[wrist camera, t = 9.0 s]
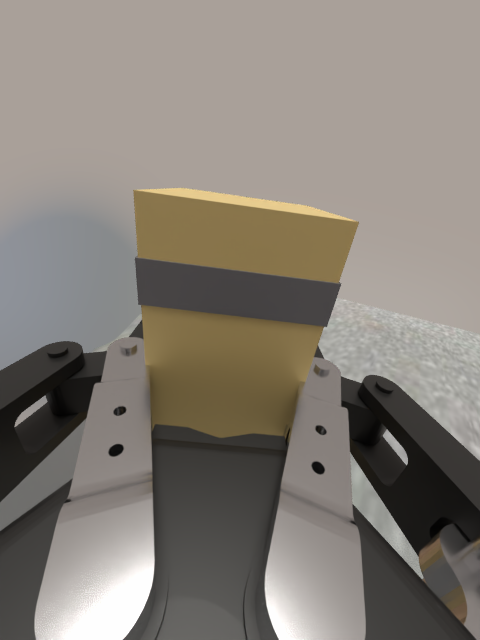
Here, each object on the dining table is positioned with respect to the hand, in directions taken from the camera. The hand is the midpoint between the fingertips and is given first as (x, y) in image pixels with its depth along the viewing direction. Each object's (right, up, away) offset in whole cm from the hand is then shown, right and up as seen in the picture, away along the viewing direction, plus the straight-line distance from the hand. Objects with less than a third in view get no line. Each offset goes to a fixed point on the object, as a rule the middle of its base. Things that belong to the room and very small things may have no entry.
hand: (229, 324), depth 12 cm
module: (-1, -8, +1) cm, 8 cm away
